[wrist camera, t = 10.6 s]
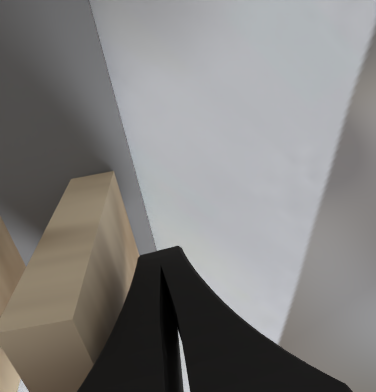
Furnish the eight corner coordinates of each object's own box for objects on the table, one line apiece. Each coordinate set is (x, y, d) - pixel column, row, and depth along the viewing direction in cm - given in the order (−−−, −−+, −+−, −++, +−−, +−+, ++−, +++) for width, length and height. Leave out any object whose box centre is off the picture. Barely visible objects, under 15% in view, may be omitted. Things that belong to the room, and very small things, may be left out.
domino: (145, 274, 16) (135, 453, 9) (108, 281, 16) (74, 464, 9) (113, 170, 13) (72, 319, 7) (70, 179, 13) (-8, 333, 7)
